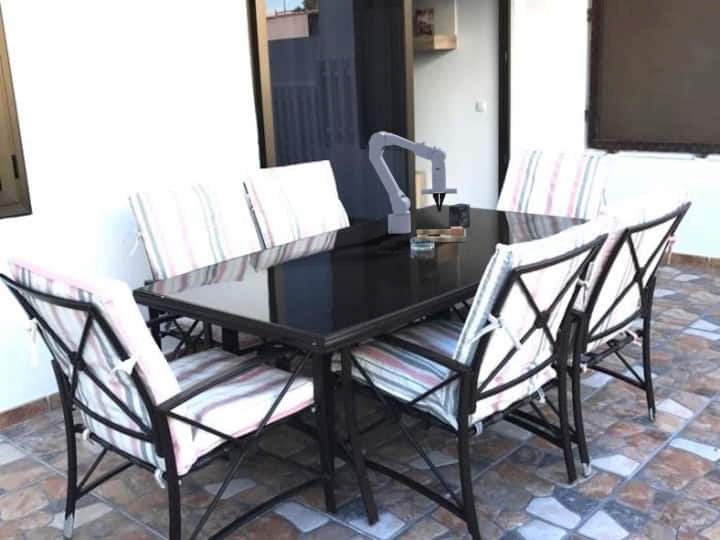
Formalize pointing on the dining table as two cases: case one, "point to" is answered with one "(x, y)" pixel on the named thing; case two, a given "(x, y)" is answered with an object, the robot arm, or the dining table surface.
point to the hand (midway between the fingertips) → (439, 211)
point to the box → (459, 215)
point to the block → (456, 232)
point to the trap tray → (443, 238)
